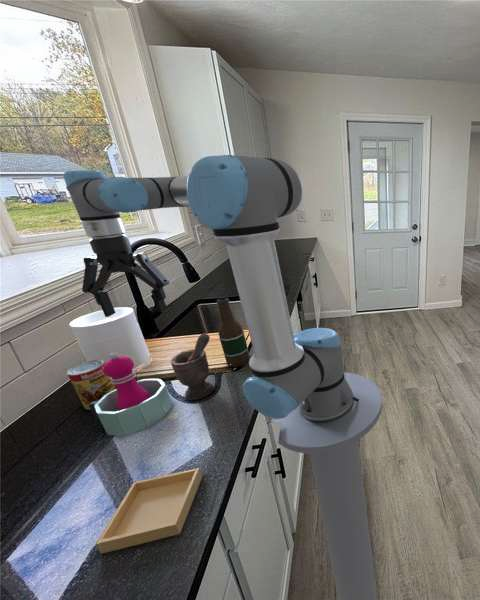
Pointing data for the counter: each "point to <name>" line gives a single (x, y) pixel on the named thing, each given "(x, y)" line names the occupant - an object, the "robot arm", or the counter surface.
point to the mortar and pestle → (193, 369)
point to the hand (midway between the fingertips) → (137, 312)
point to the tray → (151, 510)
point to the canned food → (90, 381)
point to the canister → (111, 336)
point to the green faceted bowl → (133, 409)
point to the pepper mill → (125, 381)
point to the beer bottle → (232, 336)
